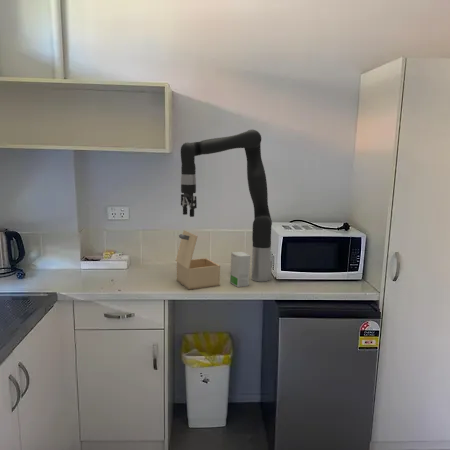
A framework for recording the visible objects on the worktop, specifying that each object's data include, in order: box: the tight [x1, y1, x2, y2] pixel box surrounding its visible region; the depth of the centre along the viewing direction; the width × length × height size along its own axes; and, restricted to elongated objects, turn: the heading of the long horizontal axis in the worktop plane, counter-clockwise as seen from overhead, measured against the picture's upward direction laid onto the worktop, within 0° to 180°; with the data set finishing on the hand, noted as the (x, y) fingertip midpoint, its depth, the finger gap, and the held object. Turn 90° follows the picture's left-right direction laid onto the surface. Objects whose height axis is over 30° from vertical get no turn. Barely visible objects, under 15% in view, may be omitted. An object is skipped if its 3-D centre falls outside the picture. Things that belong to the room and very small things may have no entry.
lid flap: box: [175, 229, 198, 269], centre depth 195 cm, size 16×16×5 cm
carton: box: [176, 257, 221, 291], centre depth 201 cm, size 16×16×10 cm
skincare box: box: [229, 250, 251, 288], centre depth 200 cm, size 8×7×16 cm
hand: (188, 215), depth 207 cm, fingers open, 8 cm apart
